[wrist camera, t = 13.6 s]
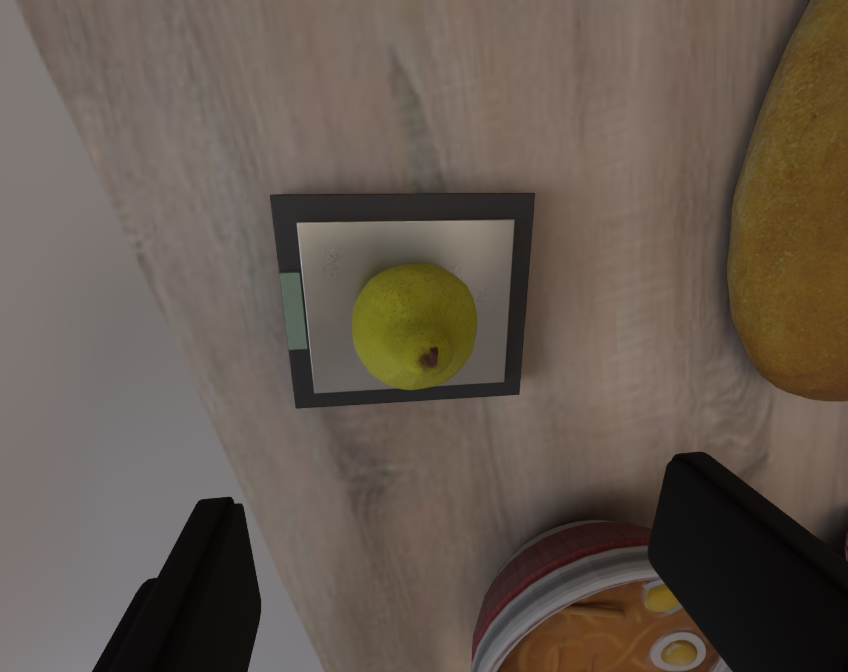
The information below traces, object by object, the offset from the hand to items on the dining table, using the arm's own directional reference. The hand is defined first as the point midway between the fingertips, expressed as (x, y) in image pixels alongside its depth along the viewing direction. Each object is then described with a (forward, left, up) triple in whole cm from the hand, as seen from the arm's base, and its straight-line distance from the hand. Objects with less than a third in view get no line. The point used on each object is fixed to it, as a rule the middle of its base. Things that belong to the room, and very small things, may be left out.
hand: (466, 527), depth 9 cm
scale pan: (0, 0, -19) cm, 19 cm away
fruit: (0, 0, -19) cm, 19 cm away
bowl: (+15, -28, -22) cm, 39 cm away
